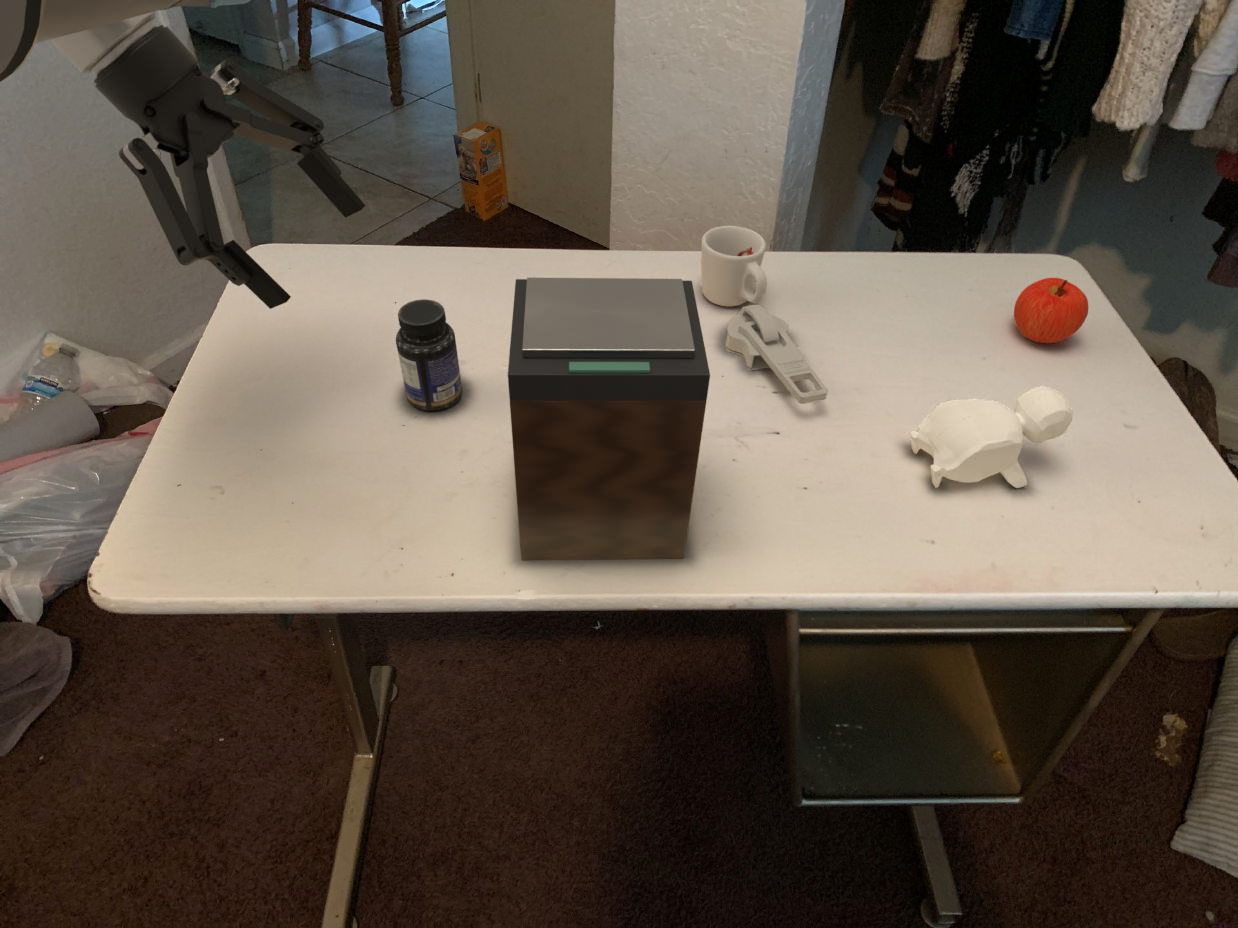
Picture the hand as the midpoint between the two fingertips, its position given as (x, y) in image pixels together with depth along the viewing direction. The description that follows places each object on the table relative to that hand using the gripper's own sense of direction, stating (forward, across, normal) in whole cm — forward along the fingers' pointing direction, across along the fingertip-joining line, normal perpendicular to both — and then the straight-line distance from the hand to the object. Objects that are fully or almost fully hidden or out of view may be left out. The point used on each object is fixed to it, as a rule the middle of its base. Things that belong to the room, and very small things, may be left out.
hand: (320, 255), depth 79 cm
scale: (+15, +5, +27) cm, 31 cm away
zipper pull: (+41, -19, +24) cm, 51 cm away
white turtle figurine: (+52, -11, +44) cm, 70 cm away
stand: (+30, +8, +17) cm, 36 cm away
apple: (+60, -38, +47) cm, 85 cm away
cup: (+39, -31, +16) cm, 52 cm away
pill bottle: (+20, -1, -4) cm, 20 cm away
